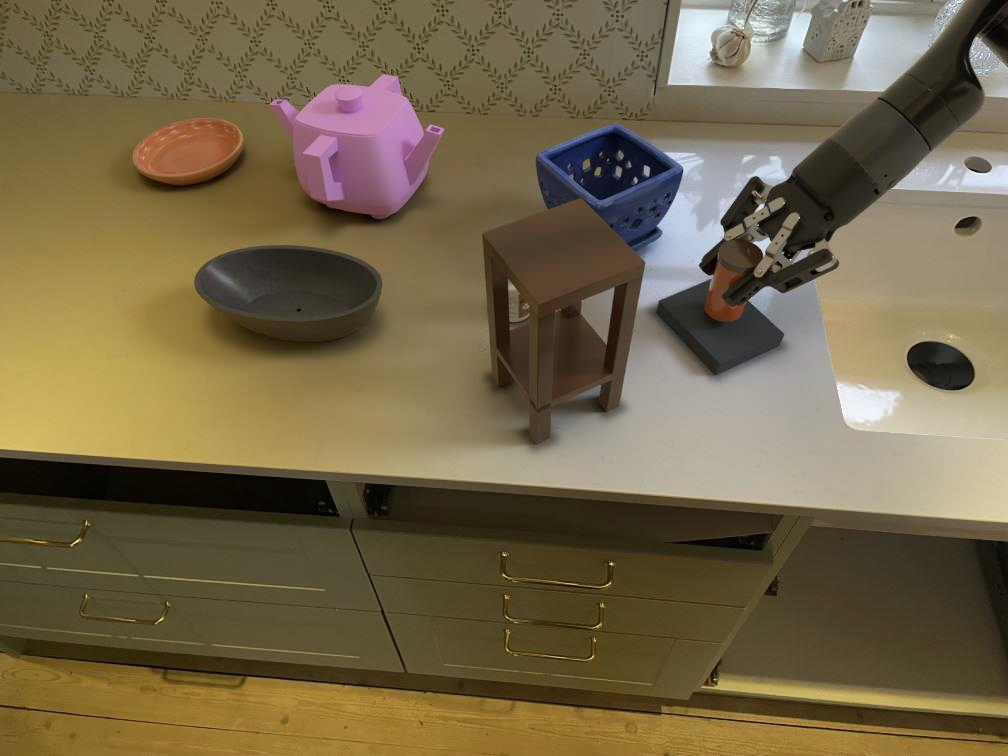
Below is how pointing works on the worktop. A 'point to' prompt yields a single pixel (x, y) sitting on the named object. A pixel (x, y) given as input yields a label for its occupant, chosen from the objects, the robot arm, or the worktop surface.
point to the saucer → (189, 151)
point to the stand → (560, 307)
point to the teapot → (359, 146)
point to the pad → (718, 330)
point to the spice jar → (730, 277)
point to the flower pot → (612, 180)
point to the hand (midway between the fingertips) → (715, 285)
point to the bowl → (291, 291)
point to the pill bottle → (516, 305)
